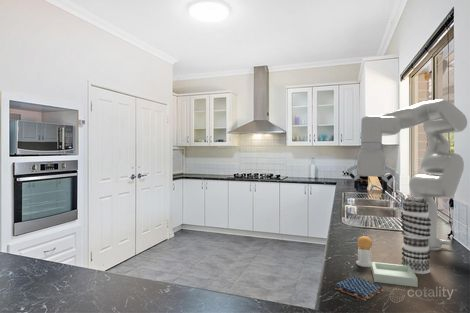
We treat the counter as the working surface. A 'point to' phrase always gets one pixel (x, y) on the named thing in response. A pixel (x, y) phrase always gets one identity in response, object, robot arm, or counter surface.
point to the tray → (394, 274)
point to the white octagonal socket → (364, 257)
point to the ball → (364, 243)
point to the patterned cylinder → (416, 234)
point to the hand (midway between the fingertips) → (370, 191)
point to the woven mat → (359, 288)
